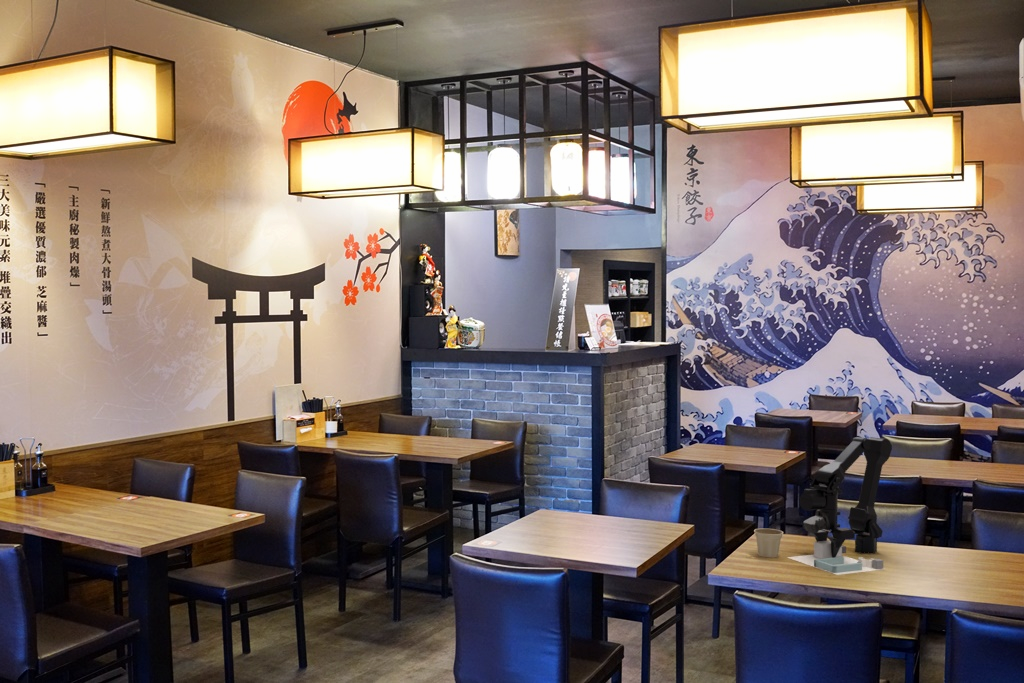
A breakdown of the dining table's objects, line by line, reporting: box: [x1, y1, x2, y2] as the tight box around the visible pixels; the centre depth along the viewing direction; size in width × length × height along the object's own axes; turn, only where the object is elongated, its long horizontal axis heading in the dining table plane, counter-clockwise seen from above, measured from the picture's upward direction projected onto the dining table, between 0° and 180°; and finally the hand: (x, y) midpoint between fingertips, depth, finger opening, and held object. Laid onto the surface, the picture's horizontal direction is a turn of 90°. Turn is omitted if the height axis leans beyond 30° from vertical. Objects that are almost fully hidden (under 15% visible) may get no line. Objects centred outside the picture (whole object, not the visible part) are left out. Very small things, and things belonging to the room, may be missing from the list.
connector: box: [813, 539, 847, 559], centre depth 305 cm, size 4×11×5 cm, turn 112°
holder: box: [814, 557, 862, 574], centre depth 291 cm, size 9×11×2 cm
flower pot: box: [753, 528, 784, 558], centre depth 308 cm, size 9×9×9 cm
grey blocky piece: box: [857, 558, 884, 570], centre depth 292 cm, size 5×6×3 cm
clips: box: [857, 557, 874, 568], centre depth 294 cm, size 5×5×2 cm
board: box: [786, 553, 885, 576], centre depth 297 cm, size 19×24×1 cm
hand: (827, 555), depth 304 cm, fingers open, 5 cm apart
